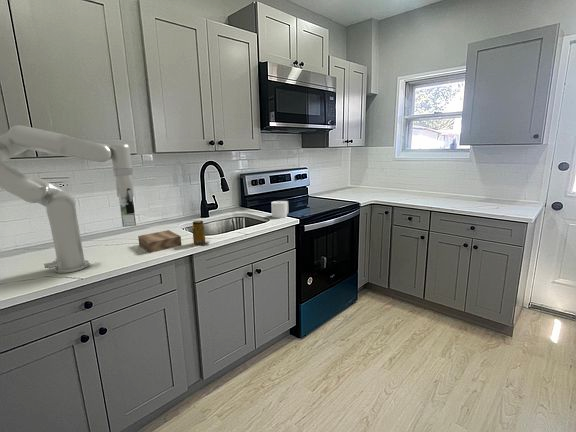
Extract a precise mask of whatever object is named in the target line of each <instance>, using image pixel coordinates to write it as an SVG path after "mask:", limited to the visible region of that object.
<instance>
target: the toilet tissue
mask: <svg viewBox="0 0 576 432" xmlns="http://www.w3.org/2000/svg"><path fill="white" fill-rule="evenodd" d="M288 214H289V200H276V201H275V200H274V201H271V217H272V218H276V219H281V218H286V217H287V216H288Z"/></svg>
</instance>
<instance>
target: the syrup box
mask: <svg viewBox="0 0 576 432" xmlns="http://www.w3.org/2000/svg"><path fill="white" fill-rule="evenodd" d="M132 196H133V195H132ZM128 197H129V196H128ZM126 198H127V197H126ZM118 200H119V201H118V202H119V208H120V216H121V225H122V227H125V228H126V227H133V226H137V224H138V223H137V221H138V220H137V214H136V212H135V213H130V214H127V211H126V205H127V204H126V201H125V198H124V199H121V196H120V195H119V197H118ZM133 202H134V210H135V211H136V204H135V196H134V197H133Z"/></svg>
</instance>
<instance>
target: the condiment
mask: <svg viewBox="0 0 576 432" xmlns="http://www.w3.org/2000/svg"><path fill="white" fill-rule="evenodd" d="M191 228H192V240H193V243H192V245H191V246H192V247H197V246H209V245H210V243H211V240H206V231H205V226H204V221H203V220H194V221H192V227H191Z"/></svg>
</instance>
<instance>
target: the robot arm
mask: <svg viewBox="0 0 576 432" xmlns="http://www.w3.org/2000/svg"><path fill="white" fill-rule="evenodd" d="M27 150H30V151H34V152H42V153H46V154H50V155H56V156H62V157H70V158H76V159H82V160H86V161H91V162H98V163H105V162H108V161H111V162H112V163H111V164H112V171H113V176H114V177H115V188H116V195H117V197H118V198H119V195H120V196H121V199H124V198H125V201H126V204H127V205H126V211H127V214H130V213H136V209H135V210H134V204H135V201H134V202H133V197H134V198H135V192H134V191H135V190H134V185H133V180H132V176H134V173H133V165H132V164H133V163H132V156H131V149H130V145H129V144H127V143H113V144H107V143H106V144H105V143H100V142H99V143H98V142H95V141H90V140H84V139H81V138H76V137H72V136H69V135H66V134H64V133H59V132H54V131H49V130H45V129H40V128H35V127H31V126H26V125H21V124H20V125H14V126H11V127H10V128H9V129H8V132H5V133H4V134H1V135H0V189H2V190H4V191H6V192H8V193H9V194H12V195H13V196H16V197H17V198H19V199H21V200H22V201H25V202H27V203H29V204H39V205H41V206H43V207H45V208H46V214H47V219H48V222H49V226H50V231H51V236H52V241H53V245H54V251H55V257H56V258H55V260H52V262H47V263H43V266H44V269H53V270H54V272H56V273H58V274H67V273H73V272H77V271H80V270H83V269H85V268H88V267H89V265H90V261H89V260H87V259H85V256H84V255H85V254H84V250H83V244H82V238H81V233H80V231H81V230H80V226H79V220H78V215H77V208H76V200H75V198H74V197H73V195H72V194H70V193H68V192H67V191H65V190H63V189H62V188H60V187H58V186H56V185H55V184H52V183H50V182H48V181H47V180H46V179H43V178H40V177H30V176H28V175H26V174H25V173H22V172H21V171H19V170H17V169H16V168H14V167H11V166H10V165H8V164H7V163H5V161H8V160H9V159H12V158H13V157H16V156H17V155H20V154H22V153H24V152H25V151H27ZM132 195H133V196H132ZM128 196H129V197H128ZM126 197H127V198H126Z"/></svg>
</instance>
